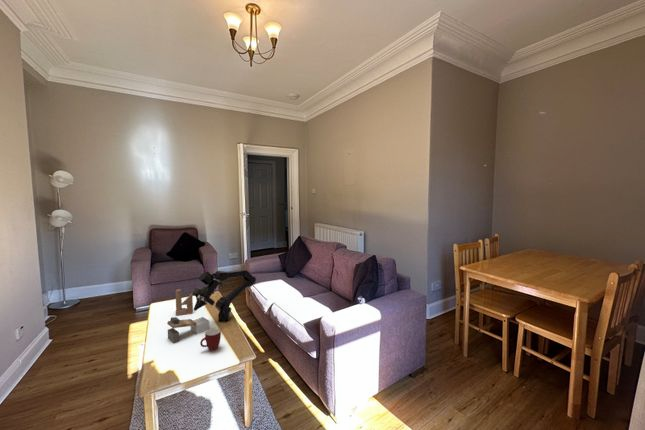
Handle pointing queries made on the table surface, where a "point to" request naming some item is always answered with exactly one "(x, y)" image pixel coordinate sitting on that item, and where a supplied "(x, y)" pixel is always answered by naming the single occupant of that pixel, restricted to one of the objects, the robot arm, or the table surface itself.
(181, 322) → the plank
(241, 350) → the table surface
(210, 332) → the mug
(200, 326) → the gray rectangular block
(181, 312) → the wooden block
